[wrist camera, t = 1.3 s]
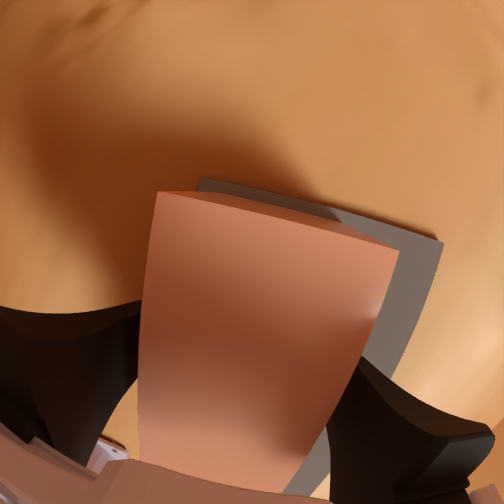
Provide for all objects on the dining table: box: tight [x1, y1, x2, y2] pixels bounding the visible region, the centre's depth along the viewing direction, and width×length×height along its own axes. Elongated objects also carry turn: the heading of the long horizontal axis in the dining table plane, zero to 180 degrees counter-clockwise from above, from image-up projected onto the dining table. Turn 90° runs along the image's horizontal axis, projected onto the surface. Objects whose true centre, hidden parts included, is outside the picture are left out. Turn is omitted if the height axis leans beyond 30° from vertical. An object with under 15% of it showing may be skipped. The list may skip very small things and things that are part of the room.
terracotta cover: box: [138, 191, 400, 493], centre depth 10 cm, size 5×11×6 cm, turn 167°
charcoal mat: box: [197, 177, 444, 497], centre depth 14 cm, size 12×26×1 cm, turn 167°
